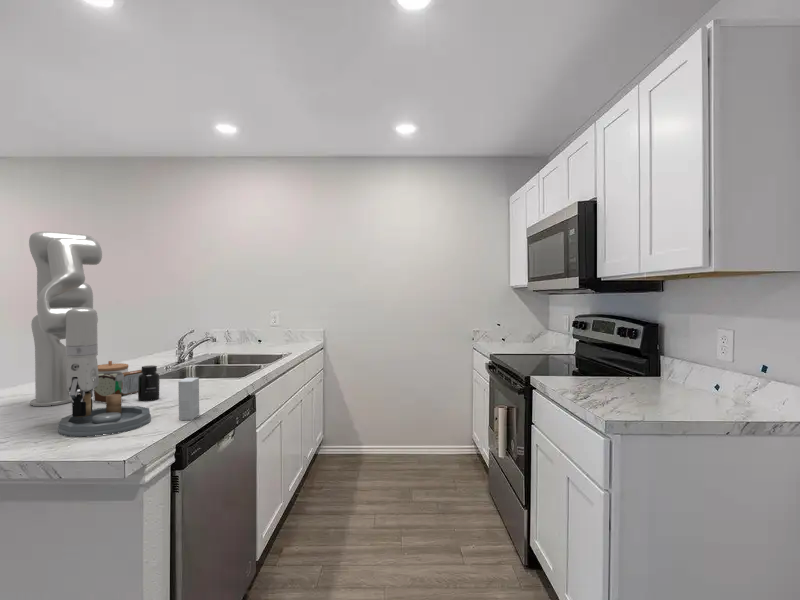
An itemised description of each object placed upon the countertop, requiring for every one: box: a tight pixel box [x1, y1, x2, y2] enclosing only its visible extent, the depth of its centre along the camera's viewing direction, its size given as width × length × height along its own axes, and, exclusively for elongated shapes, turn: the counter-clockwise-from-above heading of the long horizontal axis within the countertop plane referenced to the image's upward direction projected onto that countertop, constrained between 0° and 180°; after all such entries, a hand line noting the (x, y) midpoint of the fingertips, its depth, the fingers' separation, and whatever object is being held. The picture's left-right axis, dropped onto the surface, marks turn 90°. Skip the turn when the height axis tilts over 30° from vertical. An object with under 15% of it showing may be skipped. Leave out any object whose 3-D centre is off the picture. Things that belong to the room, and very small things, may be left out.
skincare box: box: [178, 377, 200, 421], centre depth 141 cm, size 6×4×12 cm
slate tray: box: [57, 405, 152, 438], centre depth 133 cm, size 23×23×3 cm
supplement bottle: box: [137, 365, 161, 402], centre depth 165 cm, size 7×7×12 cm
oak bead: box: [79, 393, 91, 417], centre depth 131 cm, size 4×4×6 cm
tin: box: [121, 369, 142, 396], centre depth 175 cm, size 15×3×8 cm, turn 159°
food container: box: [93, 372, 124, 403], centre depth 162 cm, size 12×6×10 cm, turn 71°
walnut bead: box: [105, 394, 122, 413], centre depth 139 cm, size 4×4×6 cm
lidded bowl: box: [98, 360, 129, 373], centre depth 183 cm, size 13×13×11 cm
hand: (82, 413), depth 131 cm, fingers closed on oak bead, 4 cm apart
